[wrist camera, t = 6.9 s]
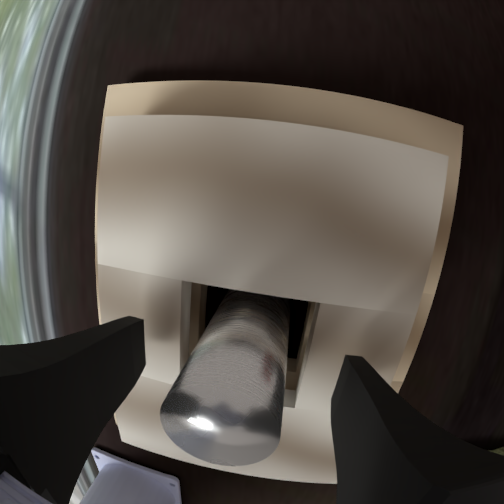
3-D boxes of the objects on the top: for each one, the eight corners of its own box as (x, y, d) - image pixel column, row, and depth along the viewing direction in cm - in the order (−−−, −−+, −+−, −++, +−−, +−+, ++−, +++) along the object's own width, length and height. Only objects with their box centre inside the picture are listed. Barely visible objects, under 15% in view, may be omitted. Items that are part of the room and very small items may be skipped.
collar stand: (356, 456, 16) (361, 500, 13) (123, 413, 18) (98, 448, 14) (451, 128, 11) (494, 118, 8) (120, 90, 13) (75, 73, 9)
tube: (283, 343, 15) (266, 474, 7) (219, 330, 15) (161, 448, 8) (296, 284, 14) (293, 401, 6) (228, 270, 14) (159, 369, 7)
